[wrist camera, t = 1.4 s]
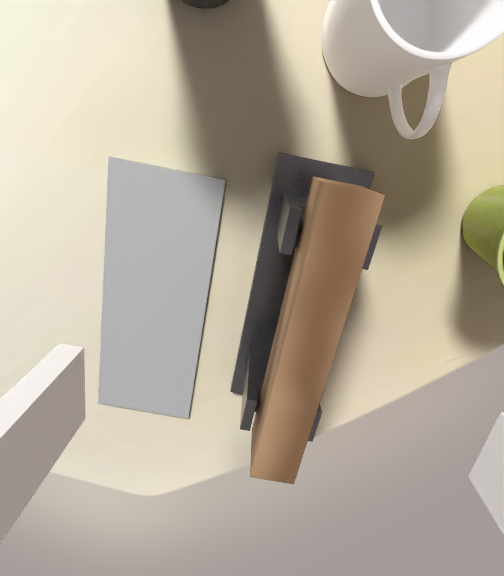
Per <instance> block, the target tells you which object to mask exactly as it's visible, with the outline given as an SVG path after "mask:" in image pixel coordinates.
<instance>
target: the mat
mask: <svg viewBox="0 0 504 576" xmlns="http://www.w3.org/2000/svg"><path fill="white" fill-rule="evenodd" d="M225 183H226V180H225V179H220V178H215V177H209V176H204V175H199V174H194V173H189V172H184V171H179V170H174V169H169V168H164V167H159V166H154V165H149V164H144V163H139V162H134V161H129V160H124V159H119V158H114V157H109V163H108V186H107V210H106V234H105V258H104V281H103V305H102V329H101V353H100V376H99V400H98V403H99V404H105V405H111V406H117V407H122V408H128V409H134V410H140V411H146V412H152V413H158V414H163V415H169V416H175V417H181V418H187V419H188V417H189V412H190V406H191V399H192V393H193V387H194V380H195V374H196V367H197V361H198V355H199V348H200V342H201V336H202V329H203V323H204V316H205V310H206V304H207V297H208V291H209V285H210V278H211V272H212V265H213V259H214V253H215V246H216V240H217V234H218V227H219V221H220V214H221V208H222V202H223V195H224V189H225Z"/></svg>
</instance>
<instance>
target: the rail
mask: <svg viewBox="0 0 504 576" xmlns="http://www.w3.org/2000/svg"><path fill="white" fill-rule="evenodd" d="M384 197H385V195H383V194H380V193H378V192H375V191H373V190H370V189H368V188H365V187H363V186H358V185H353V184H348V183H343V182H338V181H333V180H328V179H323V178H318V177H314V176H313V178H312V183H311V187H310V191H309V195H308V199H307V203H306V208H305V212H304V216H303V220H302V224H301V228H300V232H299V237H298V241H297V245H296V249H295V253H294V257H293V262H292V266H291V270H290V274H289V278H288V282H287V286H286V291H285V295H284V299H283V303H282V307H281V311H280V316H279V320H278V324H277V328H276V332H275V336H274V340H273V345H272V349H271V353H270V357H269V361H268V365H267V370H266V374H265V378H264V382H263V386H262V390H261V395H260V399H259V403H258V407H257V411H256V415H255V419H254V424H253V428H252V444H251V470H250V471H251V472H250V477H253V478H259V479H265V480H271V481H277V482H283V483H290V484H294V482H295V479H296V476H297V472H298V469H299V466H300V463H301V460H302V456H303V454H304V450H305V447H306V444H307V441H308V438H309V435H310V431H311V428H312V425H313V422H314V419H315V416H316V412H317V409H318V406H319V403H320V400H321V397H322V393H323V390H324V387H325V384H326V381H327V378H328V374H329V371H330V368H331V365H332V362H333V359H334V356H335V352H336V349H337V346H338V343H339V340H340V337H341V333H342V330H343V327H344V324H345V321H346V318H347V314H348V311H349V308H350V305H351V302H352V299H353V295H354V292H355V289H356V286H357V283H358V280H359V276H360V273H361V270H362V267H363V264H364V261H365V258H366V254H367V251H368V248H369V245H370V242H371V239H372V235H373V232H374V229H375V226H376V223H377V220H378V216H379V213H380V210H381V207H382V204H383V201H384Z"/></svg>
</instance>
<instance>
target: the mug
mask: <svg viewBox="0 0 504 576" xmlns="http://www.w3.org/2000/svg"><path fill="white" fill-rule="evenodd" d="M503 33H504V0H331V1H330V3H329V5H328V8H327V11H326V14H325V17H324V21H323V27H322V50H323V55H324V59H325V62H326V64H327V67H328V69H329V71H330V73H331V74H332V76H333V77H334V79H335V80H336V81H337V82H338V83H339V84H340V85H341V86H342V87H343V88H345V89H346V90H348V91H350V92H351V93H354V94H356V95H359V96H364V97H381V96H385V95H388V98H389V105H390V110H391V115H392V118H393V122H394V124H395V127H396V129H397V131H398V132H399V133H400V135H401V136H403V137H404V138H406V139H417V138H420V137H422V136H424V135H425V134H426V133H427V132H428V131H429V130H430V129H431V127H432V126H433V124H434V122H435V121H436V119H437V116H438V114H439V111H440V109H441V106H442V102H443V99H444V95H445V90H446V85H447V80H448V74H449V70H450V66H451V63H452V62H455V61H457V60H459V59H461V58H464V57H466V56H468V55H470V54H472V53H474V52H476V51H478V50H480V49H482V48H484V47H486V46H487V45H489V44H490V43H492V42H493V41H494V40H496V39H497V38H498V37H500V36H501V35H502V34H503ZM428 73H429V91H428V97H427V102H426V106H425V110H424V113H423V116H422V119H421V121H420V123H419V125H418V126H417V128H416V129H415V130H412V129H411V127H410V126H409V124H408V122H407V120H406V117H405V114H404V110H403V105H402V97H401V92H402V88H403V87H405V86H406V85H407V84H409V83H410V82H411V81H412V80H415V79H417V78H419V77H421V76H424V75H426V74H428Z"/></svg>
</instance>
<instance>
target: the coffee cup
mask: <svg viewBox="0 0 504 576" xmlns="http://www.w3.org/2000/svg"><path fill="white" fill-rule="evenodd" d="M183 1H184V2H186V3H188V4H190V5H192V6H194V7H198V8H214V7H217V6H220V5H222V4H224V3H226V2H227V1H229V0H183Z"/></svg>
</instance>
